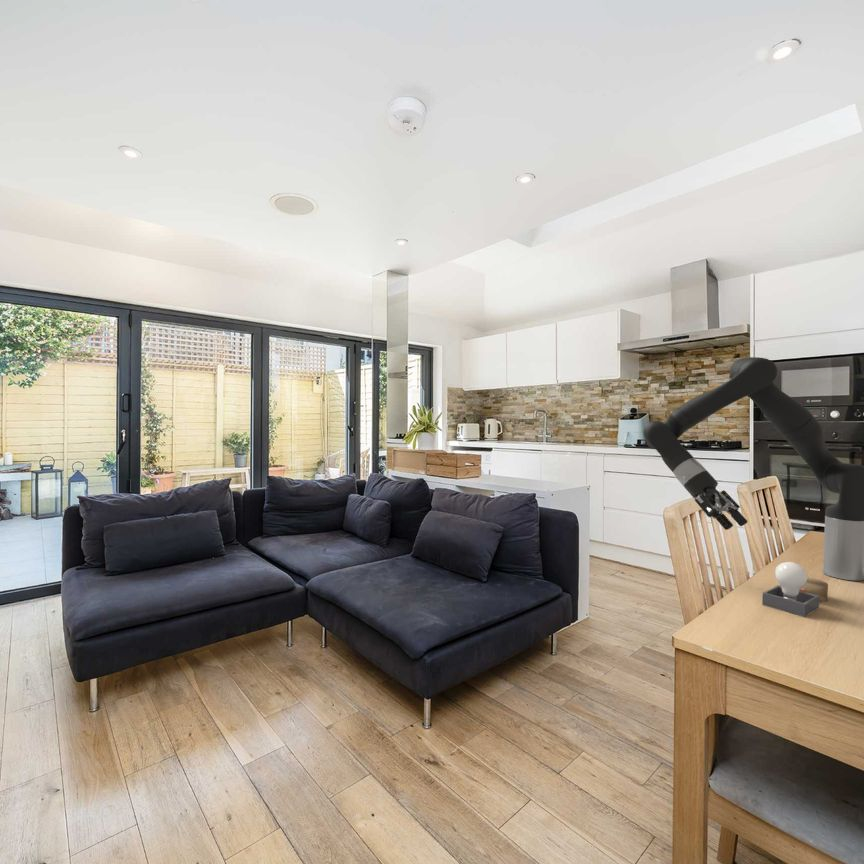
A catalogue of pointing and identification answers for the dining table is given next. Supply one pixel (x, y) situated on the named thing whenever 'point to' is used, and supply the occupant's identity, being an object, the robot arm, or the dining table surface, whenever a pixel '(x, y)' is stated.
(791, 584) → the lightbulb
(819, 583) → the oak stand
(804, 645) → the dining table surface
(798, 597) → the dark grey open tray
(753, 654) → the dining table surface
